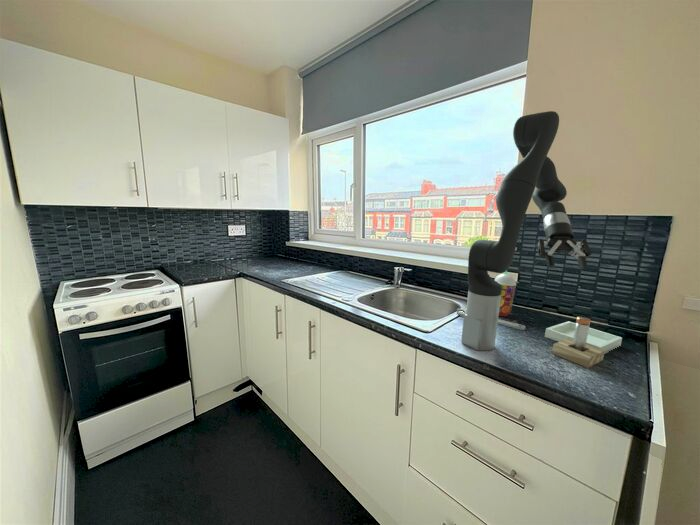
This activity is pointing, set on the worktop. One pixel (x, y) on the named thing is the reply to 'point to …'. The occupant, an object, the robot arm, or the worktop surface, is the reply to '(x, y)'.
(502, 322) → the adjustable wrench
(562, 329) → the tray
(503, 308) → the smoothie
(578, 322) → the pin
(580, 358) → the block
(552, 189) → the robot arm
